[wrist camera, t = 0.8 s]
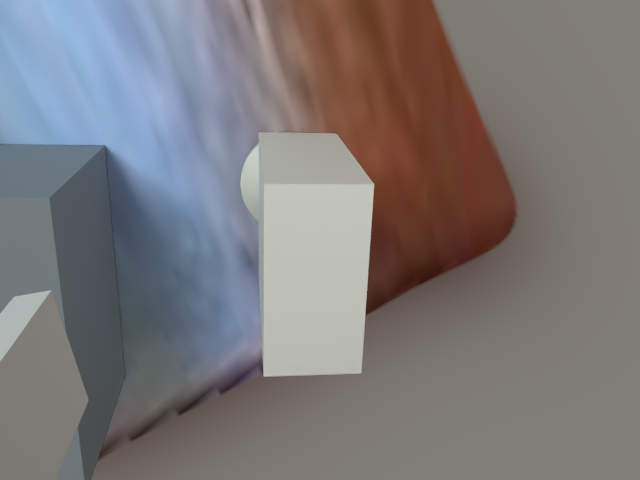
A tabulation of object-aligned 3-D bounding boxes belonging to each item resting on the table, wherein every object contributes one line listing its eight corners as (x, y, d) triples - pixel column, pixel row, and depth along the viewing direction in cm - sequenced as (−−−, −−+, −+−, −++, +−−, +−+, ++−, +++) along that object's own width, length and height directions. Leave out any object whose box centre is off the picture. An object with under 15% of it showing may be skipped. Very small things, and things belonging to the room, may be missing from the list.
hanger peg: (241, 238, 39) (238, 377, 24) (240, 114, 36) (235, 183, 22) (333, 238, 40) (385, 372, 25) (338, 115, 37) (401, 184, 22)
